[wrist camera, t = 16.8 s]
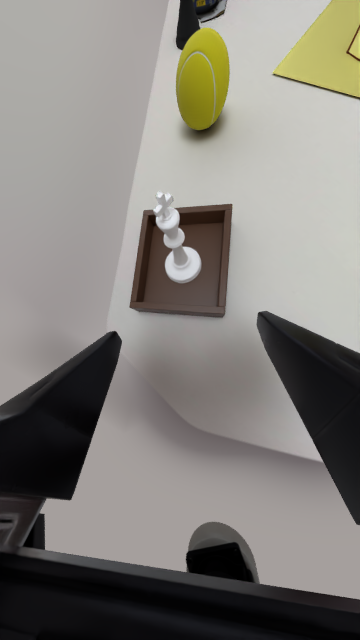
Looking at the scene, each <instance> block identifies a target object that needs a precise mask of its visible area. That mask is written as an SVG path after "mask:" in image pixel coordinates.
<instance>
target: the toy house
mask: <svg viewBox="0 0 360 640" xmlns="http://www.w3.org/2000/svg"><path fill="white" fill-rule="evenodd" d="M346 51H347V53H348V54H349V53H350V55H351V56H353V57H355V58H356V59H358V60H359V61H360V24H359V25H358V27H357V29H356V31H355V33H354V35H353V37H352V39H351V41H350V44H349V46H348V48H347V50H346Z"/></svg>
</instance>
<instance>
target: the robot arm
mask: <svg viewBox="0 0 360 640" xmlns="http://www.w3.org/2000/svg"><path fill="white" fill-rule="evenodd" d="M257 328H258V331H259V334H260V336H261V339H262V342H263V344H264V347H265V349H266V352H267V354H268V356H269V357H270V359H271V361H272V363H273V365H274V367H275V369H276V371H277V373H278V375H279V377H280V379H281V381H282V382H283V384H284V386H285V388H286V390H287V392H288V394H289V396H290V398H291V400H292V402H293V404H294V406H295V407H296V409H297V411H298V413H299V415H300V417H301V419H302V421H303V423H304V425H305V427H306V429H307V431H308V432H309V434H310V436H311V438H312V439H313V442H314V444H315V446H316V448H317V450H318V452H319V454H320V456H321V458H322V460H323V462H324V463H325V465H326V467H327V469H328V471H329V473H330V475H331V477H332V479H333V481H334V483H335V485H336V486H337V488H338V490H339V492H340V494H341V496H342V498H343V500H344V502H345V504H346V506H347V508H348V510H349V512H350V514H351V515H352V517H353V519H354V521H355V522H356V524H357V525H360V353H358V352H355V351H353V350H351V349H349V348H346V347H344V346H342V345H340V344H336V343H335V342H333V341H331V340H329V339H327V338H324V337H322V336H320V335H318V334H316V333H313V332H311V331H309V330H307V329H305V328H303V327H300V326H298V325H296V324H294V323H292V322H289V321H287V320H285V319H283V318H281V317H279V316H276V315H274V314H272V313H270V312H268V311H262V312H259V313H258V317H257ZM121 344H122V340H121V338H120V337H119V335H118V333H117V332H116V331H112V332H108V333H107V334H106V335H104V336H103V337H101V338H100V339H98V340H97V341H96V342H94V343H93V344H91V345H90V346H88V347H87V348H86V349H84V350H83V351H81V352H80V353H79V354H77V355H76V356H74V357H73V358H71V359H70V360H69V361H67V362H66V363H64V364H63V365H61V366H60V367H58V368H57V369H56V370H54V371H53V372H51V373H50V374H49V375H47V376H45V377H44V378H42V379H41V380H40V381H38V382H37V383H35V384H33V385H32V386H30V387H29V388H28V389H26V390H24V391H23V392H21V393H20V394H18V395H17V396H15V397H14V398H12V399H10V400H9V401H7V402H6V403H4V404H3V405H1V406H0V640H360V600H359V599H352V598H346V597H340V596H333V595H327V594H321V593H314V592H308V591H302V590H295V589H289V588H282V587H276V586H270V585H263V584H257V583H256V582H255V580H254V577H253V574H252V572H251V570H250V569H247V566H246V563H245V560H244V557H243V554H242V552H241V549H240V546H239V544H238V543H236V542H231V543H226V544H221V545H216V546H211V547H206V548H201V549H196V550H191V551H188V552H187V553H186V564H187V567H188V571H189V573H187V572H181V571H173V570H167V569H161V568H155V567H149V566H143V565H136V564H130V563H123V562H117V561H110V560H104V559H98V558H92V557H85V556H79V555H73V554H66V553H60V552H53V551H47V550H45V531H44V530H45V521H44V514H40V510H41V509H42V507H43V505H44V503H45V501H46V499H47V498H48V499H60V500H71V498H72V496H73V494H74V491H75V488H76V485H77V482H78V479H79V476H80V473H81V470H82V467H83V464H84V461H85V458H86V455H87V452H88V449H89V446H90V443H91V440H92V437H93V434H94V431H95V428H96V425H97V422H98V419H99V416H100V413H101V410H102V407H103V404H104V401H105V398H106V395H107V392H108V389H109V386H110V383H111V380H112V377H113V374H114V371H115V368H116V365H117V362H118V358H119V353H120V349H121Z"/></svg>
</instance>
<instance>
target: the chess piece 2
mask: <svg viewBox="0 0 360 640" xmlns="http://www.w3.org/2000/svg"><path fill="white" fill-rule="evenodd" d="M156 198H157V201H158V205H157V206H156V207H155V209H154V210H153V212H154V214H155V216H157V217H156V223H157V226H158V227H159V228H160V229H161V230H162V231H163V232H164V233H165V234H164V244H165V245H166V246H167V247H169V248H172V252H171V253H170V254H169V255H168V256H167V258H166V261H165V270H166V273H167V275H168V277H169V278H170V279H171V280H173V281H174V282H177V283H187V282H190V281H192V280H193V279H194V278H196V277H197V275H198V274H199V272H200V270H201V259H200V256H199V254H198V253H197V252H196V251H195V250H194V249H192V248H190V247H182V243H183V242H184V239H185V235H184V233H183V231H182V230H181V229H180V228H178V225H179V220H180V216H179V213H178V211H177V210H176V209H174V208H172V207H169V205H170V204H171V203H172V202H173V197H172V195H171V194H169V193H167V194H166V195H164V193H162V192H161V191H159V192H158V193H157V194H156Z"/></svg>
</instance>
